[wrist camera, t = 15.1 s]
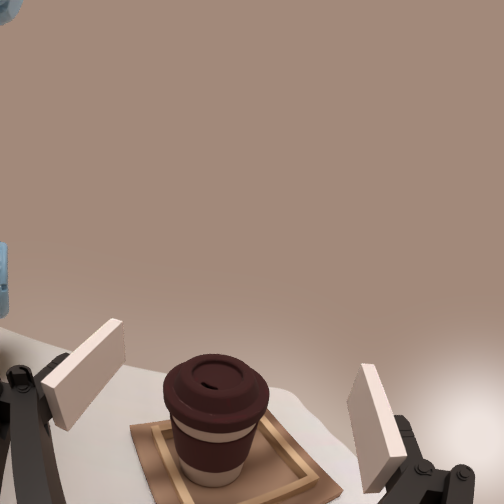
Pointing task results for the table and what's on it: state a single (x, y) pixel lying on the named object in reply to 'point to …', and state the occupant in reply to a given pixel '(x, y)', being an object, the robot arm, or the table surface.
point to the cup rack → (250, 478)
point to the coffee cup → (214, 415)
